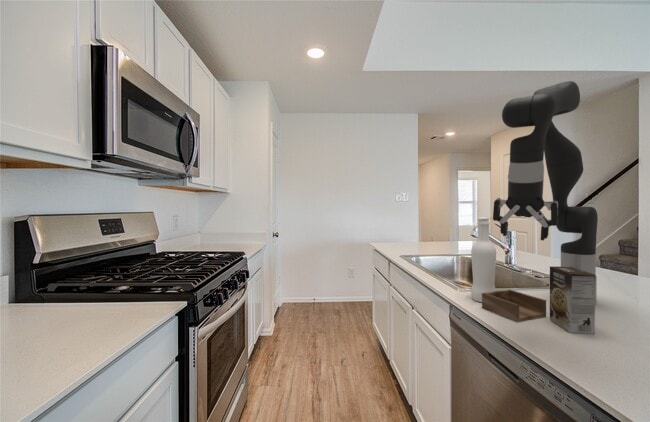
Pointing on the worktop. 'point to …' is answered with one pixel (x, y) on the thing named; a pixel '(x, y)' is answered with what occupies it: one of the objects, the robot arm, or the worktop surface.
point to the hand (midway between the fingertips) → (523, 237)
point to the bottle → (483, 262)
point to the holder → (514, 305)
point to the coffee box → (572, 299)
